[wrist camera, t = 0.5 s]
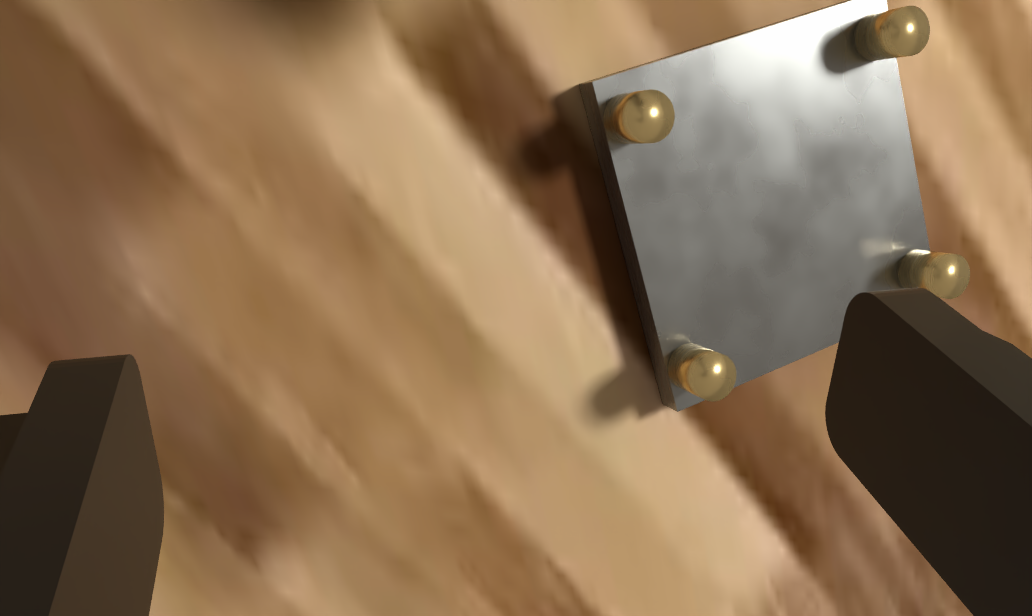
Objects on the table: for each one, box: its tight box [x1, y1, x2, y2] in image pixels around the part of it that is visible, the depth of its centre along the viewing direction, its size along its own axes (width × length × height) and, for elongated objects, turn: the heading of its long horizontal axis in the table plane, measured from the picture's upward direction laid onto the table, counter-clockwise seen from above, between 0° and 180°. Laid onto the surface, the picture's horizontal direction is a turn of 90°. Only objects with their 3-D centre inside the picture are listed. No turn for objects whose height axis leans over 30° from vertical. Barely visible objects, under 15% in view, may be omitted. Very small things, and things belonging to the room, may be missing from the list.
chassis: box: [579, 0, 970, 412], centre depth 36 cm, size 13×13×3 cm
